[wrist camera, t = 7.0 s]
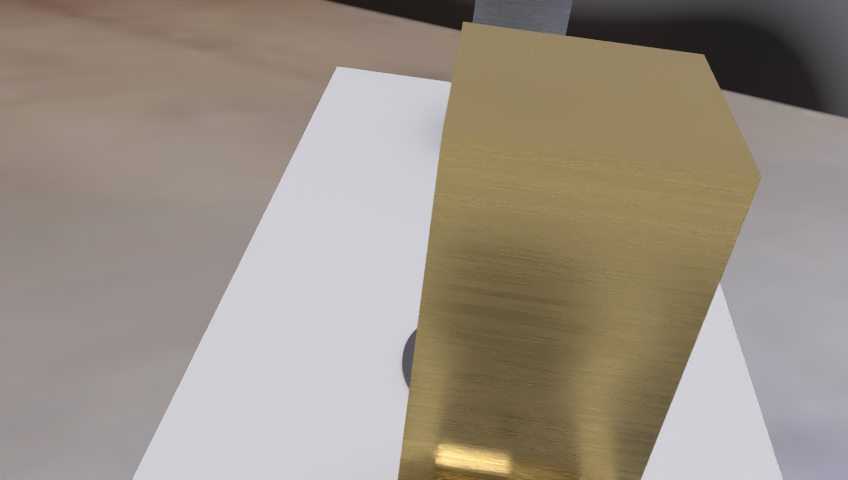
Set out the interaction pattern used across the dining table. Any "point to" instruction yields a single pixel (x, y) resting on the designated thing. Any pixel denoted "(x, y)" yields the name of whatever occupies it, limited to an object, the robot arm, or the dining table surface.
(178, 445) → the board
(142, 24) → the dining table surface
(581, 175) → the block
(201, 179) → the dining table surface
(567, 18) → the fixed leg
